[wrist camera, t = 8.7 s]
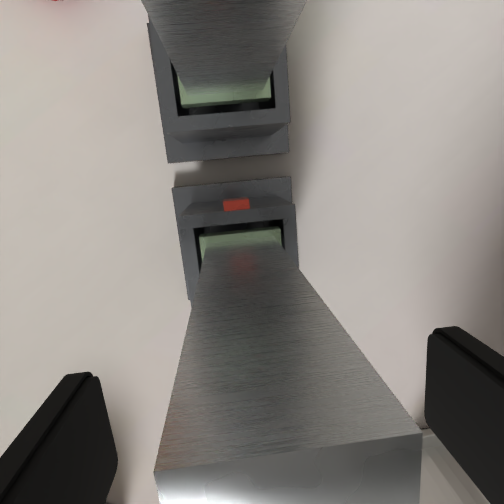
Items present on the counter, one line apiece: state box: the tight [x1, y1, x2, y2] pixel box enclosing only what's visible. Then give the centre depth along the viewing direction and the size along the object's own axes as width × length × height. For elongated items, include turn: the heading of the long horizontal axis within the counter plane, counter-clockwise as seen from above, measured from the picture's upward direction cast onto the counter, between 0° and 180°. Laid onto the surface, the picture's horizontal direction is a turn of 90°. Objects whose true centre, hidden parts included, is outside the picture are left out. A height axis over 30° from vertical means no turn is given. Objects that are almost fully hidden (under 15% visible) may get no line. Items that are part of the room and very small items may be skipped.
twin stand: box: [141, 0, 307, 163], centre depth 14 cm, size 10×10×25 cm
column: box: [154, 226, 423, 504], centre depth 14 cm, size 5×5×18 cm
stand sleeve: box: [172, 176, 299, 307], centre depth 25 cm, size 10×10×9 cm
